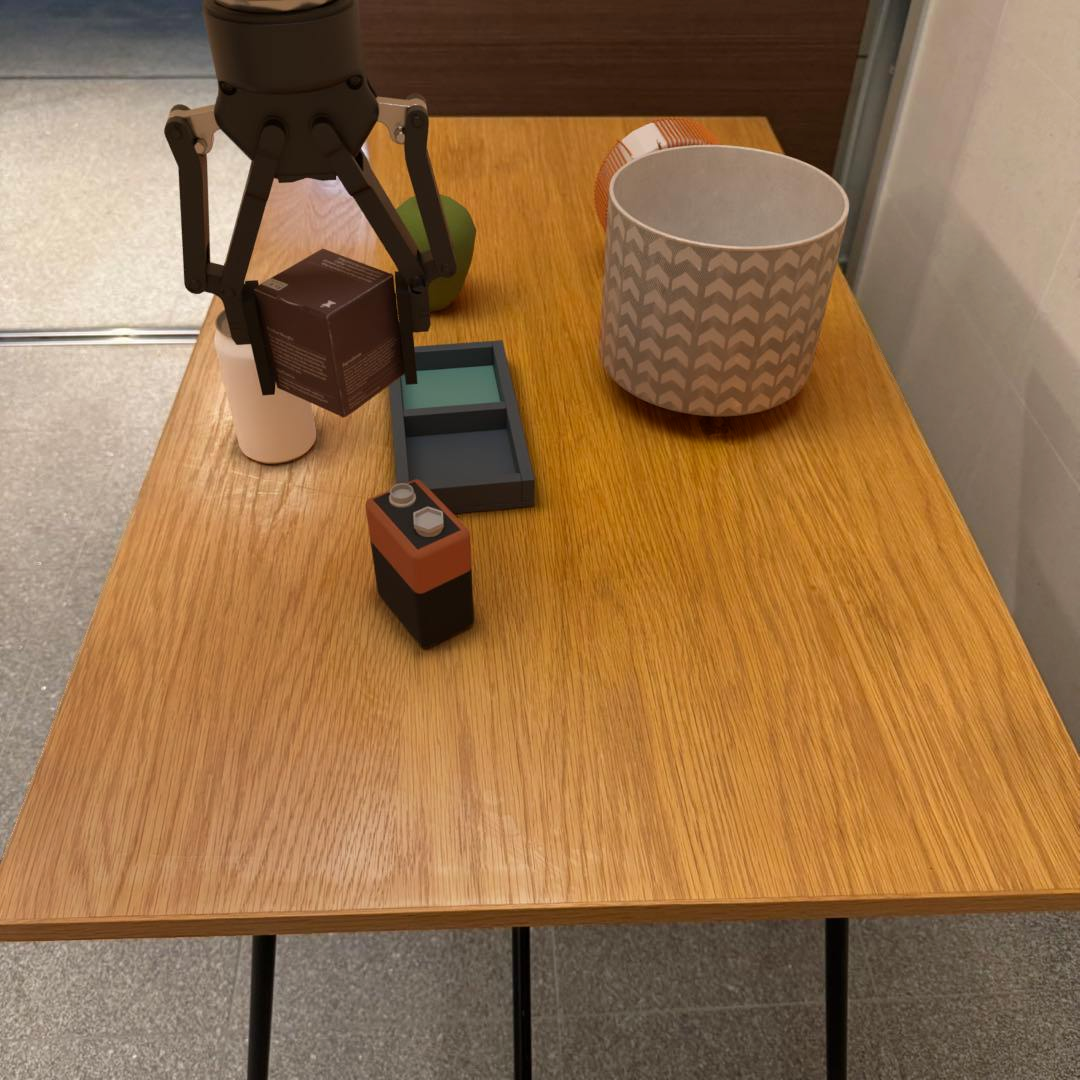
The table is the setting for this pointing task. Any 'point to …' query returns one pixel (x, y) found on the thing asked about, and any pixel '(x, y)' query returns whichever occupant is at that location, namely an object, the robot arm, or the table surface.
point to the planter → (717, 276)
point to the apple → (462, 239)
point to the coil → (646, 151)
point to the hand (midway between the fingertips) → (340, 377)
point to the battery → (421, 561)
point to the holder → (462, 429)
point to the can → (261, 406)
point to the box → (332, 331)
